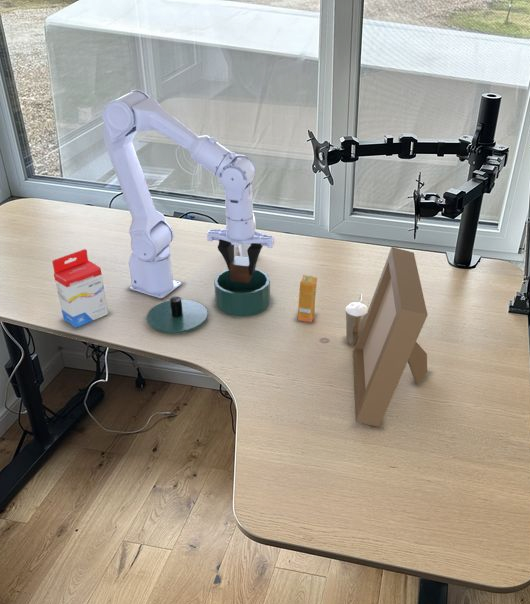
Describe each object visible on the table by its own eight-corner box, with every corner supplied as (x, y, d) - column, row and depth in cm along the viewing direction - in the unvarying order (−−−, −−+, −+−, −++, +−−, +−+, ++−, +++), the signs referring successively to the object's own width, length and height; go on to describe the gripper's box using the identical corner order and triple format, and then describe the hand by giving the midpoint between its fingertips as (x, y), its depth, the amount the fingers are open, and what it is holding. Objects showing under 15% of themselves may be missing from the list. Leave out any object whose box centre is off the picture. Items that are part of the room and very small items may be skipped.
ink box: (75, 329, 141) (62, 268, 133) (63, 320, 144) (49, 260, 135) (109, 314, 147) (99, 255, 138) (97, 305, 149) (86, 247, 141)
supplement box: (312, 323, 145) (314, 283, 140) (297, 321, 146) (298, 281, 140) (315, 315, 148) (317, 276, 142) (300, 313, 149) (301, 274, 143)
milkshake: (368, 336, 142) (371, 296, 136) (361, 349, 138) (365, 308, 132) (348, 331, 143) (350, 292, 137) (341, 345, 139) (343, 304, 133)
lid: (139, 332, 141) (136, 312, 138) (157, 301, 151) (155, 282, 148) (199, 338, 140) (197, 317, 137) (213, 305, 150) (212, 286, 147)
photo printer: (257, 261, 169) (256, 216, 161) (240, 262, 168) (239, 217, 161) (253, 243, 177) (252, 200, 170) (237, 244, 176) (235, 200, 169)
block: (230, 280, 147) (229, 264, 144) (235, 272, 150) (235, 255, 148) (248, 283, 146) (248, 266, 144) (253, 274, 150) (253, 257, 147)
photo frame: (355, 425, 118) (365, 307, 104) (352, 355, 136) (361, 245, 121) (437, 429, 118) (459, 310, 103) (424, 358, 136) (441, 248, 121)
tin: (210, 314, 147) (208, 291, 144) (222, 287, 157) (221, 265, 154) (264, 318, 146) (264, 296, 143) (273, 291, 156) (273, 269, 153)
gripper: (200, 219, 137) (205, 276, 145) (268, 226, 135) (268, 284, 143) (211, 206, 143) (215, 262, 151) (276, 213, 141) (276, 269, 149)
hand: (241, 272), depth 147 cm, fingers closed on block, 4 cm apart
